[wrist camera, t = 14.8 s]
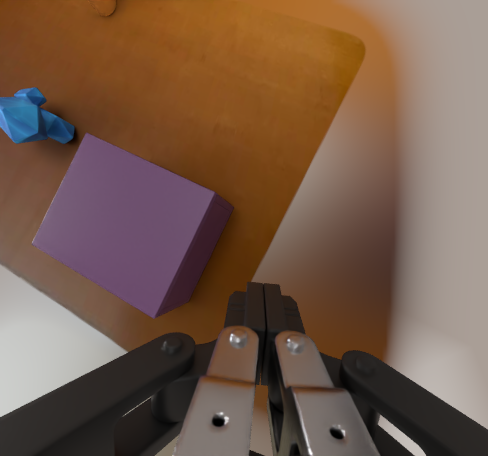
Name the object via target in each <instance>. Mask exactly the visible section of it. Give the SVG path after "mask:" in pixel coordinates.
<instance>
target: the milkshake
mask: <svg viewBox="0 0 488 456" xmlns="http://www.w3.org/2000/svg"><path fill="white" fill-rule="evenodd" d="M87 1H88V2H89V3H90V4H91V5H92V6H93V8H94V9H95V10H96V11H97V12H98V13H99V14H100V15H101V16H108V15H110V14H112V13H113V12H114V10H115V9H116V1H115V0H87Z"/></svg>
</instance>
